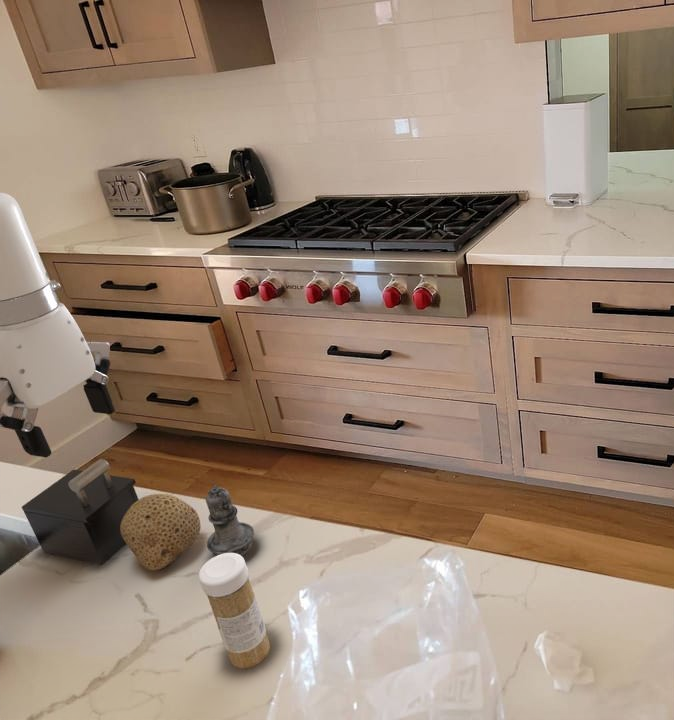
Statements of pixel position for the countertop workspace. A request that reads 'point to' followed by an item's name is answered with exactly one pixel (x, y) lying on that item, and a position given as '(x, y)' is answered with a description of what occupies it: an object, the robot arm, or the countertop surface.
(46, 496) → the lid
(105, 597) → the countertop surface
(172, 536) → the natural sponge
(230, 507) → the grey chess piece
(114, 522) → the black open box
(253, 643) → the sprinkles bottle
